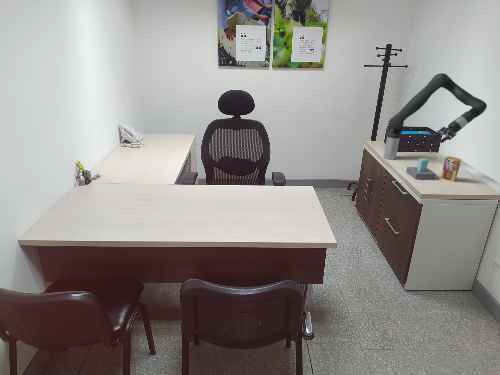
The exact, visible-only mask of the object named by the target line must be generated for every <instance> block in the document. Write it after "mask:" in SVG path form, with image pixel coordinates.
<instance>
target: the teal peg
mask: <svg viewBox="0 0 500 375" xmlns="http://www.w3.org/2000/svg"><path fill="white" fill-rule="evenodd" d="M429 161H430V160H429V159H428V158H423V157H422V158H421V157H420V158H418V163H417V166H416V167H417V171H419V172H426V170H427V168H428V164H429Z"/></svg>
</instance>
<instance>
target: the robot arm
mask: <svg viewBox="0 0 500 375" xmlns="http://www.w3.org/2000/svg"><path fill="white" fill-rule="evenodd" d="M424 86H425V87H424V88H422V89H421V90H420V91H419V92H418V93H416V94H415V95H414V96H413V97H412V98H411V99H410V100H409V101H408V102H406V104H405V105H404V106H403V107H402V108H401V109H400V111H398V112H397V113H396V114H395V115H393V117H391V118H390V119H389V120H388V125H387V126H388V128H389V131H388V133H387V137H386V143H385V148H384V153H383V158H384V159H385V160H392V161H393V160H396V159H397V154H398V149H399V145H400V140H401V139H400V138H401V134H402V133H403V128H404V123H405V121H406V119H408V118H409V117H411V116H412V115H413V114H415V113H416V112H418V111H419V110H420V109H421V108H422V107H424V105H425V104H426V103H427V102H428V101H429V99H430V98H431V96H432V95H433V94H434V93H436V91H438V90H439V89H441V88H443V89H445V90H446V91H448V92H449V93H451V94H452V95H453V97H455V98H456V100H458V101H459V102H461V104H463V105H465V106H470V107H471V108H470V109H468V110H467V111H465V112H463V114H461V115H460V116H458V117H456V118H455V119H454V120H452V121H451V122H450V123H448V127H446V126H442V127H441V128H440V129H438V130H437V131H436V134H435V135H434V136H433V138H432V139H434V140H437V139H439V137H441V136H444V137H443V138H441V139H440V140H439V142H440V143H441V144H444V142H446V141H448V140H449V141H450V140H453V138H455V136H457V134H458V132H459V131H461V130H462V129H464V128H465V127H466V126H467V125H468V124H470V123H471V122H472V121H474V119H476V118H477V117H479V116H481V115H482V114H483V113H484V112H485V111H486V109H487V107H488V105H487V103H486V102H485V101H484V100H482V99H480V98H478V97H475V96H474V95H473V94H471V93H470V92H469V91H468V90H465V89H464V88H463V87H461V86H460V85H458V84H457V83H456V82H455V81H454V80H453V79H452V78H451V77H450V76H449V75H448V74H446V73H444V72H442V73H437V74H436V75H434V76H433V77H432V78H431V79H430V81H429V82H428V83H427V84H426V85H424Z"/></svg>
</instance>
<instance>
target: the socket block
mask: <svg viewBox="0 0 500 375" xmlns="http://www.w3.org/2000/svg"><path fill="white" fill-rule="evenodd" d="M417 167H418V166H407V167H406V170H405V173H406V174H408V175H409V176H410V177H411V178H413V179H414V180H436V177H437V173H436V172H434V171H433V170H431V169H430V168H428V167H427V170H426V172H419V171H417Z"/></svg>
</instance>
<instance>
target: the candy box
mask: <svg viewBox="0 0 500 375" xmlns="http://www.w3.org/2000/svg"><path fill="white" fill-rule="evenodd" d="M461 163H462V159H461V158H458V157H455V156H454V157H453V156H449V155H447V156H445V159H444V163H443V166H442V167H443V168H442V171H441V174H440V179H445V180H447V181H451V182H455V181H456V180H457V178H458V173H459V170H460V166H461Z"/></svg>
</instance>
